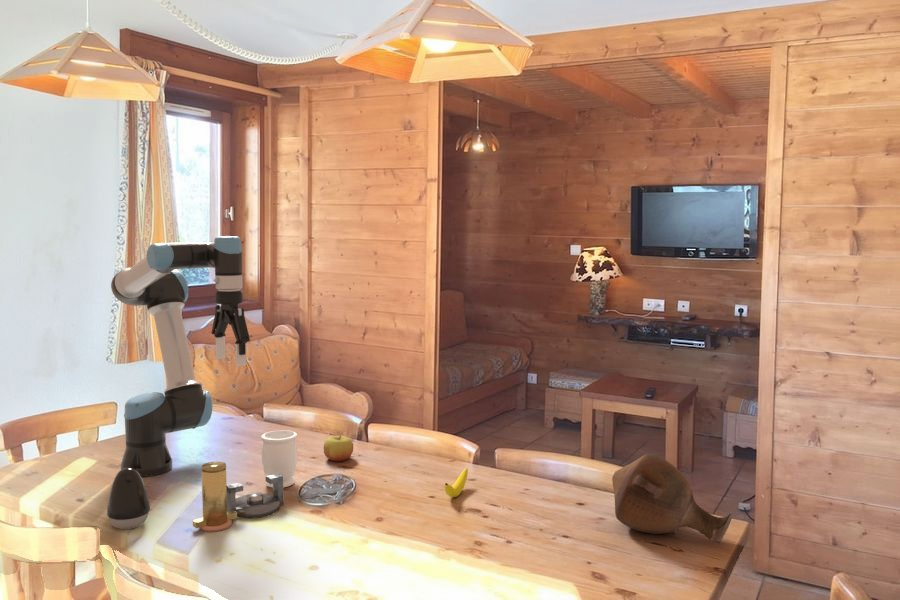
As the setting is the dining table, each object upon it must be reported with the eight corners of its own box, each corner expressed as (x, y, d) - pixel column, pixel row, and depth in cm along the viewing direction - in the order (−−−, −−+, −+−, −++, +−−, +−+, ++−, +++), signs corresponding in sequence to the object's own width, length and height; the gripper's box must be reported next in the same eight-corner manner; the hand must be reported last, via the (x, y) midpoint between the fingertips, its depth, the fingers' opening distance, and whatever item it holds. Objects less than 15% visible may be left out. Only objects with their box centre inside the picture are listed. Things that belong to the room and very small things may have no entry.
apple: (359, 458, 257) (359, 434, 257) (340, 466, 249) (340, 441, 248) (336, 453, 263) (336, 430, 262) (317, 460, 255) (316, 436, 254)
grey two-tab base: (217, 509, 212) (217, 480, 211) (269, 496, 222) (269, 468, 221) (239, 523, 202) (238, 493, 201) (292, 509, 212) (291, 480, 211)
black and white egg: (109, 536, 194) (106, 477, 192) (106, 522, 203) (103, 465, 201) (153, 529, 198) (151, 471, 197) (148, 515, 207) (146, 459, 206)
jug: (593, 529, 200) (709, 578, 184) (600, 463, 193) (722, 509, 177) (625, 492, 216) (734, 534, 200) (633, 430, 208) (747, 469, 193)
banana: (471, 484, 233) (471, 463, 232) (451, 506, 215) (451, 484, 215) (462, 483, 234) (462, 462, 233) (441, 505, 216) (441, 482, 215)
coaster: (194, 524, 201) (194, 521, 201) (223, 517, 206) (223, 513, 206) (206, 534, 195) (206, 530, 195) (236, 526, 200) (236, 522, 200)
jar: (289, 491, 226) (288, 440, 225) (256, 488, 228) (255, 438, 227) (303, 479, 237) (302, 430, 235) (271, 476, 239) (270, 428, 237)
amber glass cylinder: (189, 523, 199) (188, 466, 198) (230, 513, 207) (229, 458, 205) (199, 530, 195) (197, 472, 193) (240, 520, 202) (239, 463, 200)
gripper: (199, 287, 232) (201, 357, 235) (235, 294, 213) (237, 370, 216) (223, 286, 237) (224, 354, 239) (260, 292, 218) (262, 367, 220)
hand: (230, 362), depth 228 cm, fingers open, 13 cm apart
